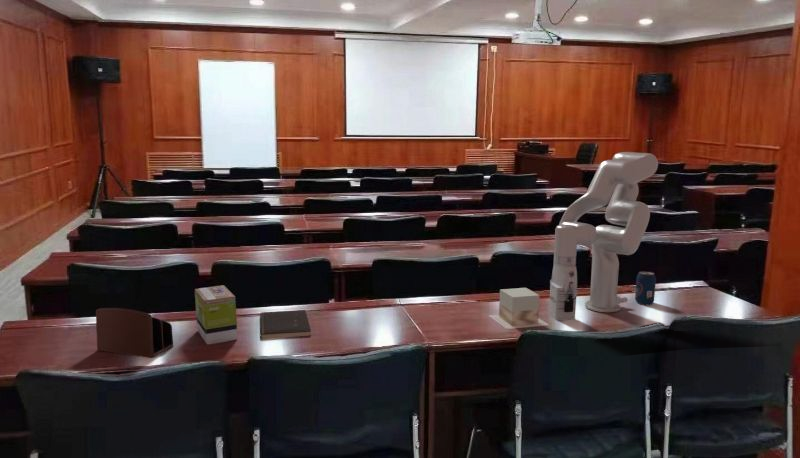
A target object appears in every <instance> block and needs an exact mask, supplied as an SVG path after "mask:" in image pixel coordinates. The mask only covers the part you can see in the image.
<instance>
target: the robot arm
mask: <svg viewBox="0 0 800 458" xmlns="http://www.w3.org/2000/svg"><path fill="white" fill-rule="evenodd" d="M658 167H659V161H658V159H657V157H656V156H655V155H654V154H653V153H650V152H649V153H648V152H632V151H622V152H618V153H615V154H614V155H613V156H612V159H607V160H603V161H602V162H601V163H600V164H599V166H598V168H597V169H596V171H595V173H594V176H593V178H592V180H591V182H590V184H589V186H588V188H587V190H586V192H585V194H583V195H582V196H580V197H578V199H576V200H575V201H574V202H573V203H571V204H570V205H569V206H568V207H567V208H566V210H565V211H564V213H563V215H562V217H561V219H560V221H559V222H558V223H559V224H558V225H556V227H555V229H554V231H555V232H554V245H553V246H554V247H553V252H554V253H553V267H552V273H551V279H550V280H549V284H550V283H554V284H556V285H558V286H560V287H562V288H563V293H564V294H565V298H566V301H565V305H564V312H573V304H574V301H575V298H576V299H577V295H578V292H579V291H578V271H577V270H578V269H577V265H576V264H577V249H578V248H577V247H578V245H580V246H591V251H592V253H591V254H592V256H591V257H592V259H591V274H590V275H591V278H590V291H589V292H590V293H589V300H587V301H586V302H585V303H584V307H585V308H586V309H588V310H591V311H593V312H599V313H616V312H618V311H620V310H621V305H620V304H621V303H627V302H628V297H625V296H623V297H621V296H618V282H619V270H620V268H619V266H620V262H619V257H618V255H617V254H619V255H623V256H624V255H626V256H630V255H634V254H635V252H636V251H638V249H639V246H640V244H641V241H642V240H643V237H644V236H645V235H644V234H645V232H646V230H647V228H648V225H649V221H650V217H651V211H650V207H649V206H648V205H647V204H646V203H644V202H641V201H639V200H638V201H637V197H638V196H639V192H640V191H639V185H638V183H640V182H642V181H644V180H646V179H648V178H651V177H652V176H653V175H654V174H655V173H656V172H657V170H658ZM605 206H607V207H606V210H605V213H604V218H605V220H606V221H607V222H608V223H610V224H611V225H610V224H609V225H608V224H600V225H596V226H594V225H592V224H589V223H585V222H579V221H578V220H579V219H580V218H581V217H582V216H583V215H585V214H586V213H588V212H590V211H595V210H596V209H600V208H602V207H605ZM612 224H613V225H612ZM615 225H618V226H615ZM622 226H623V227H622ZM569 288H570V290H571V291H572V292H567V290H568V289H569ZM568 294H571V295H570V296H569V297H568Z"/></svg>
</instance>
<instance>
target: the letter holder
mask: <svg viewBox="0 0 800 458" xmlns="http://www.w3.org/2000/svg"><path fill="white" fill-rule="evenodd" d="M95 321H96V322H95V325H96V327H95V329H96V331H95V332H96V349H97V351H98V352H105V353H112V354H121V355H129V356H135V357H141V358H142V357H144V358H150V359H153V358H155V357H157V356H159V355H161V354H163V353H164V352H166V351H168V350H170V349H172V348H173V347H174V336H173V326H172V324H171V323H170V322H169V321H165V320H162V319H159V318H156V317H152V315H151V314H149V313H147V312H144V311H140V310H139V311H138V310H135V309H130V308H129V309H128V308H124V307H123V308H122V307H100V308H97V309H96V310H95Z"/></svg>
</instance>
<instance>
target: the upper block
mask: <svg viewBox="0 0 800 458" xmlns="http://www.w3.org/2000/svg"><path fill="white" fill-rule="evenodd" d="M499 304H501V305H503V306H504V307H506V308H507V309H509V310H510V311H512V312H514V311H526V310H538V309H539V310H540V294H538V293H536V292H534V291H533V290H531V289H529V288H527V287H519V288H503V289H499Z"/></svg>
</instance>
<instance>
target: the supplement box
mask: <svg viewBox="0 0 800 458" xmlns="http://www.w3.org/2000/svg"><path fill="white" fill-rule="evenodd" d="M549 284H550V285H549V289H550V290H549V303H548V304H549V306H548V314H549V315H550V316H551V317H552V318H553V320H555V321H557V320H558V321H563V320H576V308H577V297H576V298H575V301H574V304H573V312H564V305H565V301H566V298H565V294H564V293H563V288H562V287H560V286H558V285H556V284H554V283H550V282H549ZM567 292H572V291H571V290H570V288H569V289H568V290H567ZM570 295H571V294H568V297H569V296H570Z"/></svg>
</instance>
